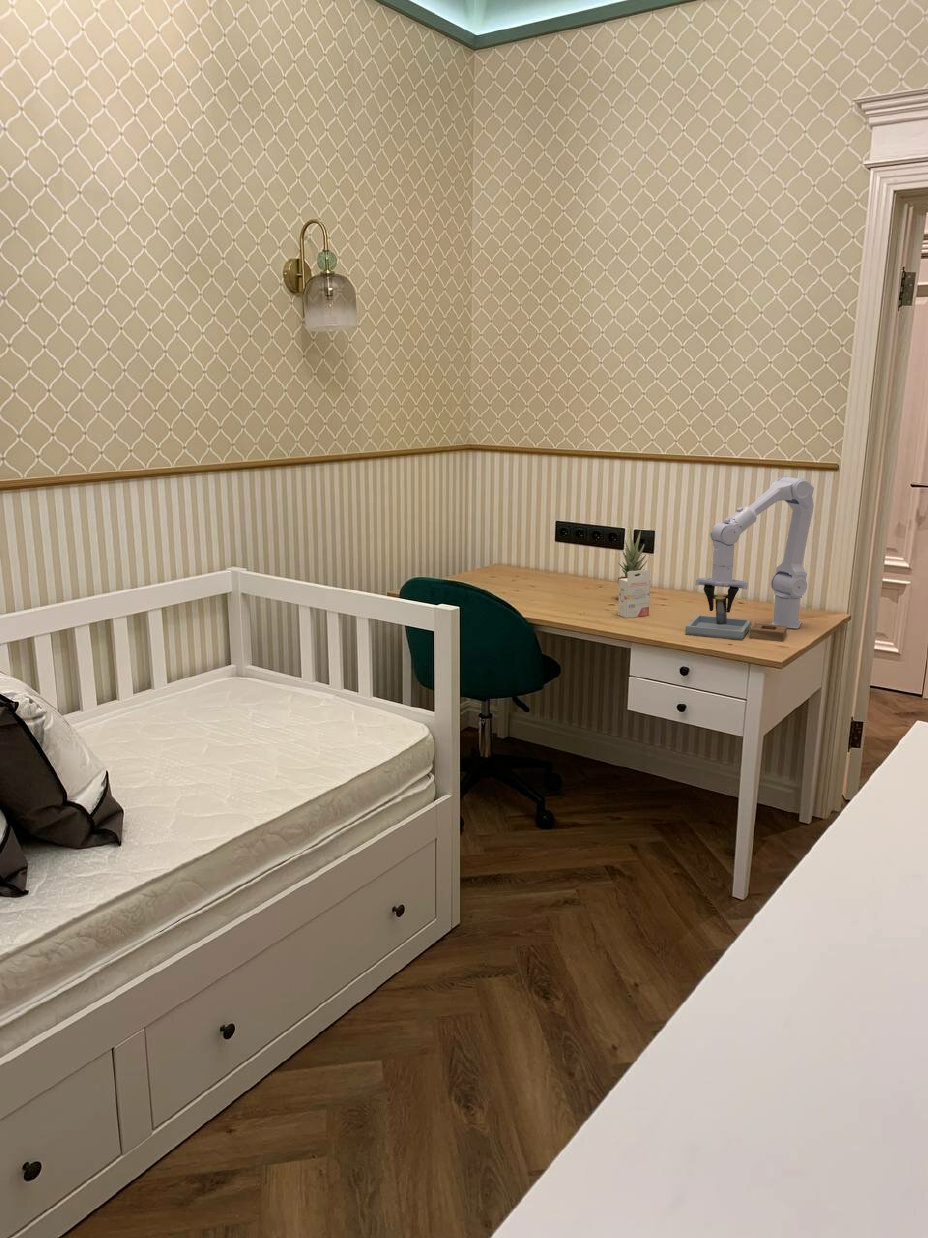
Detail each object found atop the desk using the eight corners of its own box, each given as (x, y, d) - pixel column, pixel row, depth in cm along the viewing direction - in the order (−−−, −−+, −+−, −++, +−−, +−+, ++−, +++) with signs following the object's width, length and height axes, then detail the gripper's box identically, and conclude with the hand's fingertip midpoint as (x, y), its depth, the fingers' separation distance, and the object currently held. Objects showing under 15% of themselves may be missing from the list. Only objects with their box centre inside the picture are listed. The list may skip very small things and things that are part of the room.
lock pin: (715, 621, 285) (714, 593, 284) (730, 622, 283) (729, 593, 282) (712, 625, 281) (711, 596, 280) (727, 625, 279) (727, 596, 278)
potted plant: (636, 596, 332) (639, 524, 327) (650, 601, 324) (653, 528, 318) (610, 597, 329) (613, 525, 324) (623, 603, 321) (626, 529, 315)
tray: (696, 622, 294) (696, 614, 293) (750, 628, 287) (751, 619, 287) (685, 634, 279) (685, 626, 279) (742, 640, 273) (743, 631, 272)
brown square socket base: (754, 631, 283) (754, 622, 283) (786, 634, 280) (787, 625, 279) (749, 638, 275) (750, 629, 275) (782, 641, 272) (783, 632, 271)
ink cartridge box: (640, 612, 307) (642, 567, 304) (649, 616, 303) (651, 569, 299) (617, 615, 304) (618, 568, 301) (625, 618, 299) (627, 571, 296)
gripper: (694, 565, 278) (691, 611, 281) (746, 569, 272) (743, 616, 275) (699, 561, 284) (696, 606, 288) (750, 565, 279) (747, 611, 282)
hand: (719, 611), depth 282 cm, fingers closed on lock pin, 4 cm apart
